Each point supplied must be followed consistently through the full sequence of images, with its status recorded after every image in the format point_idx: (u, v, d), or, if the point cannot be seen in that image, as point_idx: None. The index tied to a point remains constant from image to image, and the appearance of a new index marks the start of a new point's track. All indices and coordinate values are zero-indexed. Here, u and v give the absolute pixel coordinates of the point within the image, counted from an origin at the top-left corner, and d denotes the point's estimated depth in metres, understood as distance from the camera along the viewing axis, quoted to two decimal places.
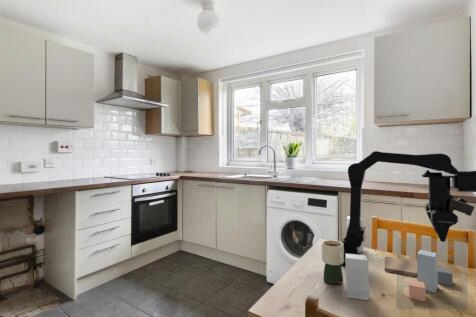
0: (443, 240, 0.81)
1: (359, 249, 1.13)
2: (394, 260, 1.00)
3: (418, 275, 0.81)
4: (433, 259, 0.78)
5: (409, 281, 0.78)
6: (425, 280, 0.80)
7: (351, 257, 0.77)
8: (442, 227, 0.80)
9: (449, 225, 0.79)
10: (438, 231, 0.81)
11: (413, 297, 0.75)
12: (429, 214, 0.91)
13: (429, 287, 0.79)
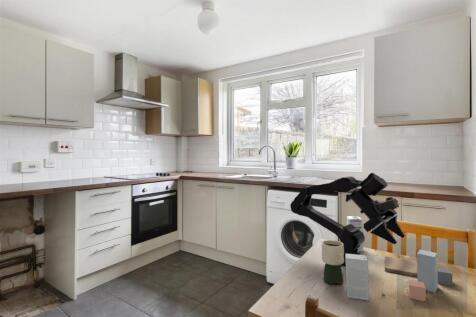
0: (394, 242, 0.84)
1: (359, 249, 1.13)
2: (394, 260, 1.00)
3: (418, 275, 0.81)
4: (433, 259, 0.78)
5: (409, 281, 0.78)
6: (425, 280, 0.80)
7: (351, 257, 0.77)
8: (383, 232, 0.86)
9: (383, 227, 0.85)
10: (384, 237, 0.85)
11: (413, 297, 0.75)
12: None
13: (429, 287, 0.79)
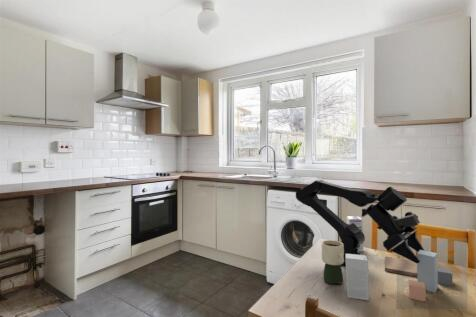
0: (417, 261, 0.79)
1: (359, 249, 1.13)
2: (394, 260, 1.00)
3: (418, 275, 0.81)
4: (433, 259, 0.78)
5: (409, 281, 0.78)
6: (425, 280, 0.80)
7: (351, 257, 0.77)
8: (404, 250, 0.81)
9: (405, 245, 0.80)
10: (405, 256, 0.81)
11: (413, 297, 0.75)
12: None
13: (429, 287, 0.79)
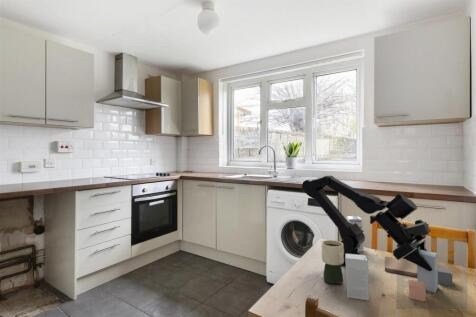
0: (430, 269, 0.79)
1: (359, 249, 1.13)
2: (394, 260, 1.00)
3: (418, 275, 0.81)
4: (433, 259, 0.78)
5: (409, 281, 0.78)
6: (425, 280, 0.80)
7: (351, 257, 0.77)
8: (416, 258, 0.81)
9: (417, 253, 0.80)
10: (417, 263, 0.80)
11: (413, 297, 0.75)
12: None
13: (429, 287, 0.79)
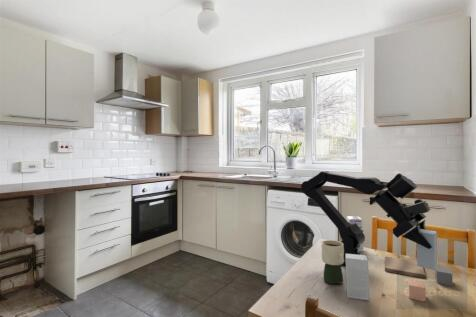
0: (429, 247, 0.79)
1: (359, 249, 1.13)
2: (394, 260, 1.00)
3: (418, 253, 0.81)
4: (433, 236, 0.79)
5: (409, 281, 0.78)
6: (425, 258, 0.80)
7: (351, 257, 0.77)
8: (416, 236, 0.81)
9: (417, 231, 0.80)
10: (417, 241, 0.80)
11: (413, 297, 0.75)
12: None
13: (429, 265, 0.79)
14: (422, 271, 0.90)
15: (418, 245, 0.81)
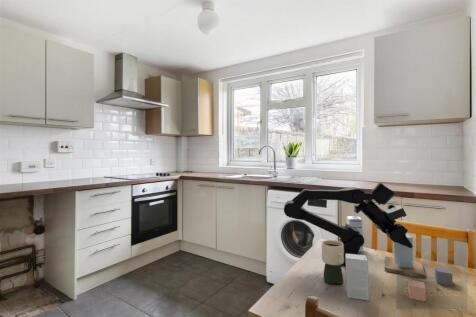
0: (411, 246, 0.91)
1: (359, 249, 1.13)
2: (394, 260, 1.00)
3: (400, 255, 0.94)
4: (411, 239, 0.93)
5: (409, 281, 0.78)
6: (405, 259, 0.94)
7: (351, 257, 0.77)
8: (402, 238, 0.91)
9: (404, 234, 0.90)
10: (403, 243, 0.91)
11: (413, 297, 0.75)
12: (384, 231, 1.01)
13: (408, 264, 0.93)
14: (422, 271, 0.90)
15: (400, 248, 0.94)
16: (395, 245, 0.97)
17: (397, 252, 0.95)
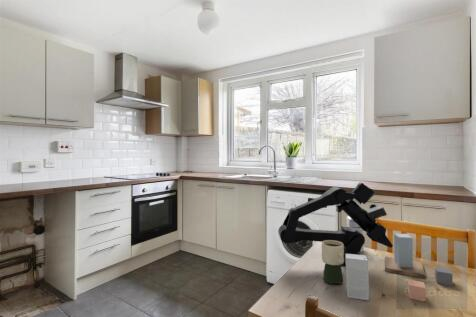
0: (391, 246, 0.92)
1: None
2: (394, 260, 1.00)
3: (400, 255, 0.94)
4: (411, 239, 0.93)
5: (409, 281, 0.78)
6: (405, 259, 0.94)
7: (351, 257, 0.77)
8: (382, 238, 0.92)
9: (384, 234, 0.91)
10: (383, 243, 0.92)
11: (413, 297, 0.75)
12: (366, 230, 1.03)
13: (408, 264, 0.93)
14: (422, 271, 0.90)
15: (400, 248, 0.94)
16: (395, 245, 0.97)
17: (397, 252, 0.95)
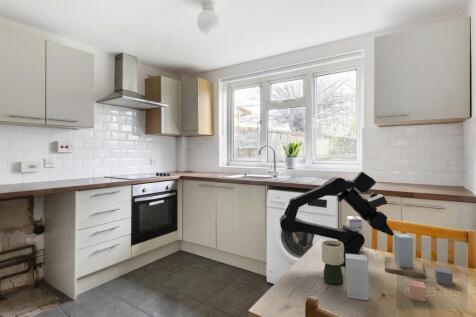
0: (392, 234, 0.92)
1: None
2: (394, 260, 1.00)
3: (400, 255, 0.94)
4: (411, 239, 0.93)
5: (409, 281, 0.78)
6: (405, 259, 0.94)
7: (351, 257, 0.77)
8: (383, 226, 0.92)
9: (385, 222, 0.91)
10: (384, 231, 0.92)
11: (413, 297, 0.75)
12: (367, 219, 1.03)
13: (408, 264, 0.93)
14: (422, 271, 0.90)
15: (400, 248, 0.94)
16: (395, 245, 0.97)
17: (397, 252, 0.95)
